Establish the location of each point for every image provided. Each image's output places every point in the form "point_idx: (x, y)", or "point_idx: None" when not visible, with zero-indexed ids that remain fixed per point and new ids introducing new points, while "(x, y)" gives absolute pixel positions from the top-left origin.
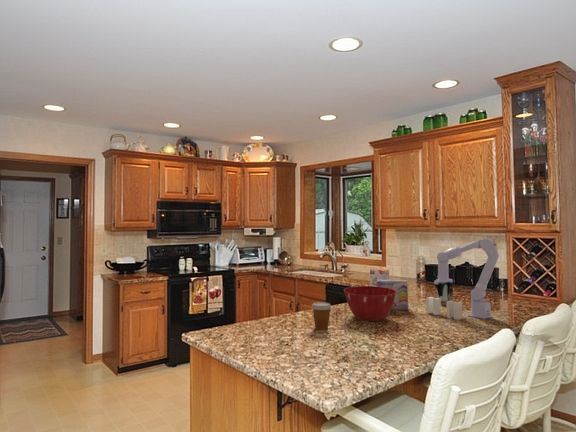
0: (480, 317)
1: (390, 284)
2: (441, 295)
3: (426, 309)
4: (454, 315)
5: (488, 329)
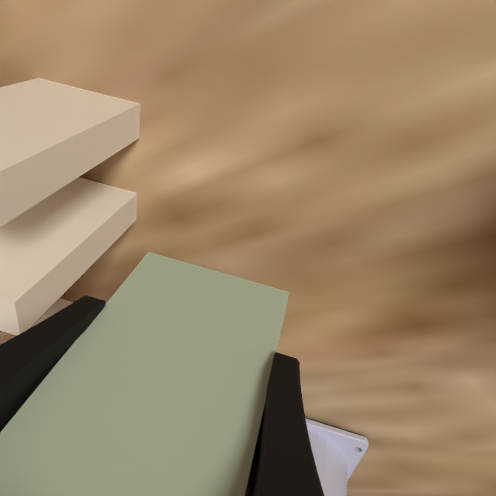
0: None
1: None
2: None
3: (6, 87)
4: None
5: None
